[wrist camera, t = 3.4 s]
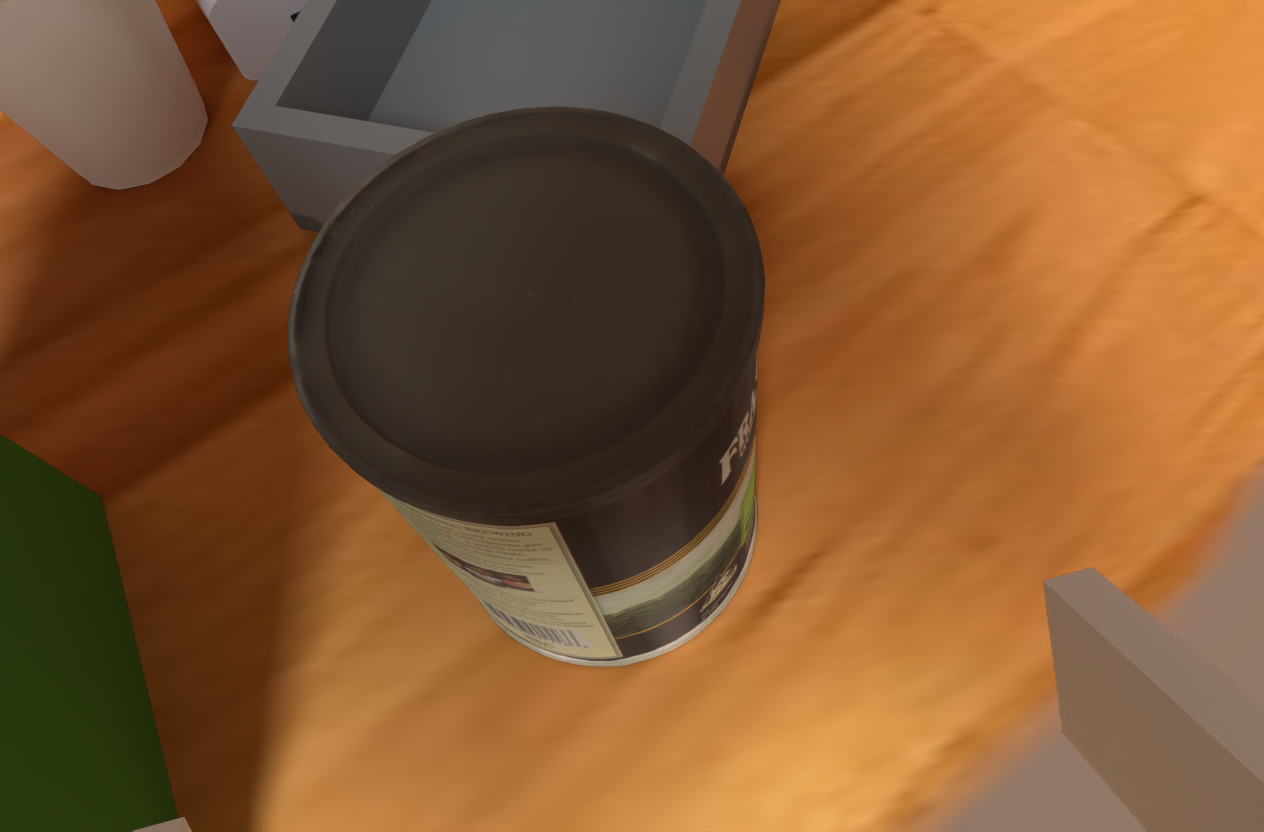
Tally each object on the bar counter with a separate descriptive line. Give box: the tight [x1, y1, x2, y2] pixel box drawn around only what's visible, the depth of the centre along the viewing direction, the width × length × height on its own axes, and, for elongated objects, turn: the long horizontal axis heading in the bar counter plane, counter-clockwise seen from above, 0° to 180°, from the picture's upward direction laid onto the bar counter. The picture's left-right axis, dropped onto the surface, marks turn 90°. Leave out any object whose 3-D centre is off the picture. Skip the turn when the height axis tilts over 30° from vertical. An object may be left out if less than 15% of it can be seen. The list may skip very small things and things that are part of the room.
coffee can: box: [287, 106, 765, 666], centre depth 27 cm, size 10×10×14 cm
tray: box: [232, 0, 780, 232], centre depth 39 cm, size 16×16×6 cm
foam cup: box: [0, 0, 208, 190], centre depth 38 cm, size 10×9×13 cm
